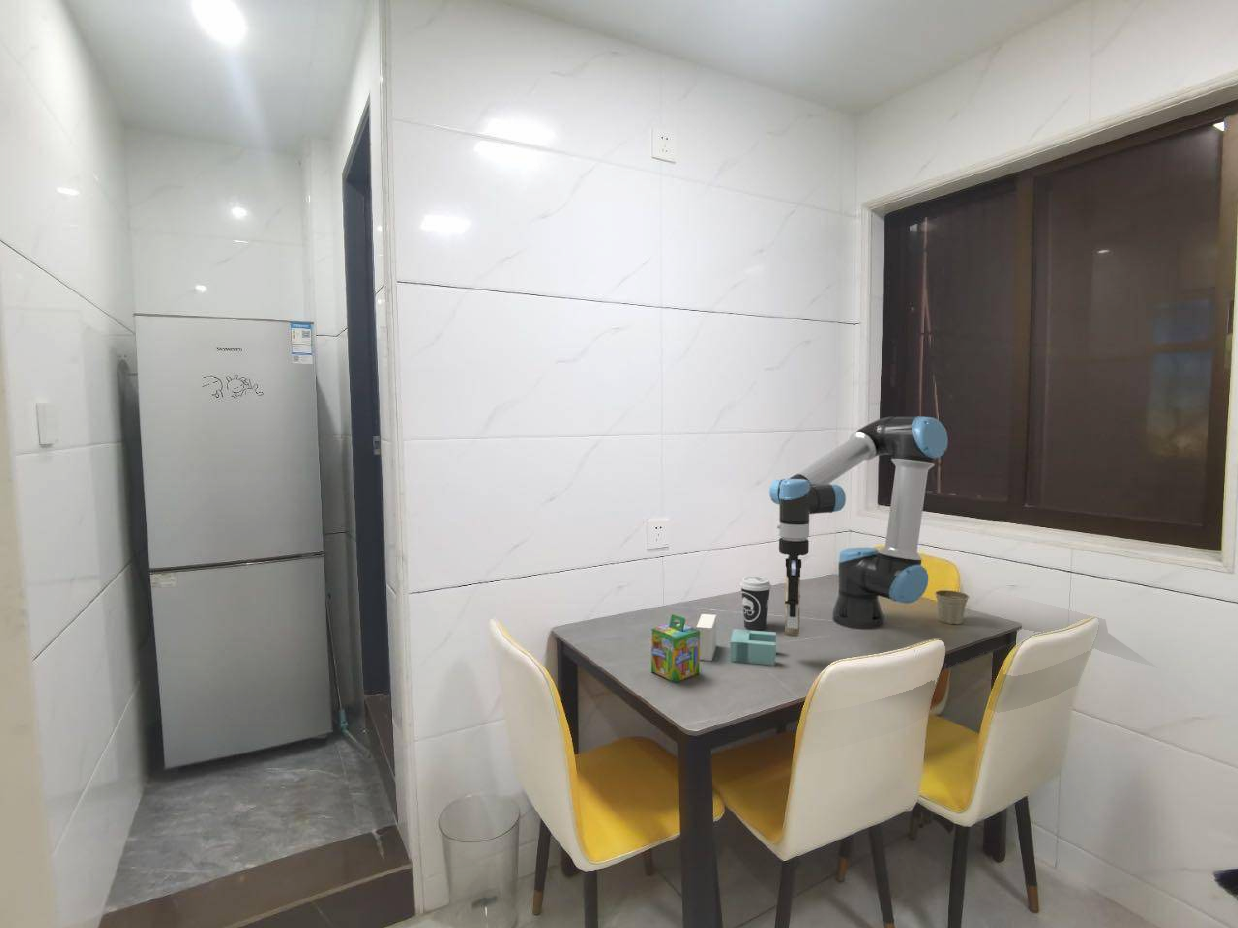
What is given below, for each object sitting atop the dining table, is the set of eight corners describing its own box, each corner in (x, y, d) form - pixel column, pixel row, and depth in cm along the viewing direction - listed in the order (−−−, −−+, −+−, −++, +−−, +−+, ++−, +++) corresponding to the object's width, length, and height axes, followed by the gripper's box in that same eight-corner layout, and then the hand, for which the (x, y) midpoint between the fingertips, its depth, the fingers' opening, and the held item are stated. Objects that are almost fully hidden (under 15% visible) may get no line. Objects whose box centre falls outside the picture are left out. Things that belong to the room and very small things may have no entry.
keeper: (775, 651, 168) (775, 632, 168) (775, 665, 159) (775, 645, 159) (733, 648, 171) (733, 629, 171) (730, 661, 162) (730, 641, 162)
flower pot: (970, 619, 191) (971, 593, 190) (966, 628, 183) (967, 600, 183) (937, 614, 197) (937, 588, 196) (931, 622, 189) (932, 595, 188)
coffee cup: (771, 633, 182) (772, 584, 181) (739, 631, 184) (739, 583, 183) (770, 622, 191) (770, 576, 190) (739, 621, 193) (739, 574, 192)
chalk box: (650, 672, 157) (649, 616, 155) (676, 662, 162) (675, 608, 161) (675, 684, 149) (674, 625, 148) (701, 673, 155) (701, 617, 154)
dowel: (798, 632, 163) (799, 577, 162) (799, 637, 160) (800, 581, 158) (785, 631, 164) (785, 576, 163) (785, 636, 161) (785, 580, 159)
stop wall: (716, 645, 173) (716, 614, 173) (711, 660, 163) (711, 628, 162) (702, 644, 175) (701, 613, 174) (696, 659, 164) (696, 626, 163)
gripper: (779, 531, 169) (778, 614, 171) (778, 543, 153) (777, 634, 155) (807, 532, 167) (806, 616, 169) (809, 545, 151) (808, 637, 153)
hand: (792, 624), depth 162 cm, fingers closed on dowel, 3 cm apart
